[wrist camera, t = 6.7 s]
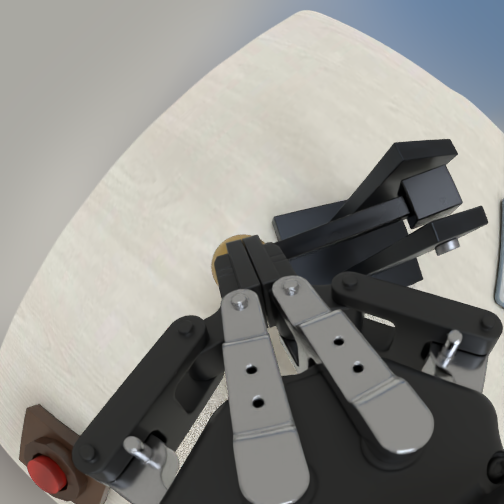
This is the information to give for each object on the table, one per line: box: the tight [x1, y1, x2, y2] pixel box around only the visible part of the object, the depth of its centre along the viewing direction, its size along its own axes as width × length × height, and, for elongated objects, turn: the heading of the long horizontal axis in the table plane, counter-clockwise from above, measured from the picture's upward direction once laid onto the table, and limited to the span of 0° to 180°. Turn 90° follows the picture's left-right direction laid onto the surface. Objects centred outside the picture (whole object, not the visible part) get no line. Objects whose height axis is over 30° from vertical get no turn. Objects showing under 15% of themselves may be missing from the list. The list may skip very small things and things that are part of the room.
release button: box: [27, 455, 67, 494], centre depth 14 cm, size 4×4×2 cm
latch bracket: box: [272, 139, 488, 287], centre depth 18 cm, size 12×9×14 cm
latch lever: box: [212, 164, 463, 286], centre depth 15 cm, size 14×4×4 cm, turn 106°
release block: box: [19, 404, 110, 504], centre depth 16 cm, size 10×8×4 cm
